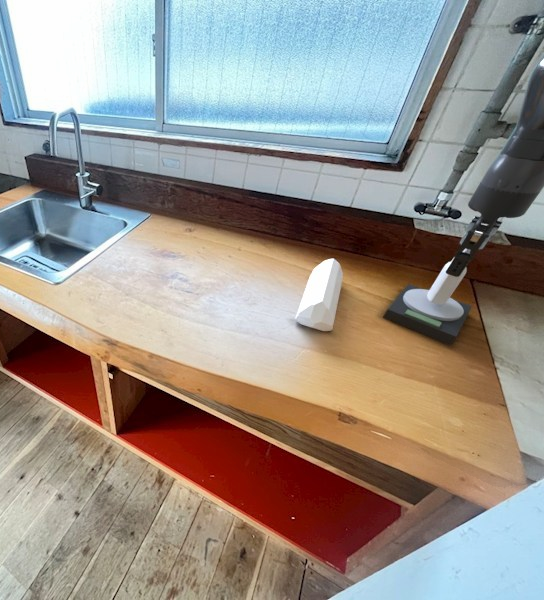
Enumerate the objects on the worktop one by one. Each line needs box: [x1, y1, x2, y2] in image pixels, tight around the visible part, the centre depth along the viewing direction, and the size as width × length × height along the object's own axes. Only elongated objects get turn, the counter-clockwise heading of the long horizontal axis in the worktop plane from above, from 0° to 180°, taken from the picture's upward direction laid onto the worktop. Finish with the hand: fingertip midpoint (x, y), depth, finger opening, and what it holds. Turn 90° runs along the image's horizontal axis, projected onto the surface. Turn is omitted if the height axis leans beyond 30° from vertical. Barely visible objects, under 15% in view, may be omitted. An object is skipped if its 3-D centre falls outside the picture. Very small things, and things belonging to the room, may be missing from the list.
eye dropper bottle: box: [427, 249, 471, 305], centre depth 65 cm, size 4×6×12 cm
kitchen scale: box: [382, 283, 473, 346], centre depth 70 cm, size 12×14×3 cm
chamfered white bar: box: [294, 257, 344, 332], centre depth 74 cm, size 7×7×24 cm
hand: (456, 268), depth 64 cm, fingers closed on eye dropper bottle, 5 cm apart
